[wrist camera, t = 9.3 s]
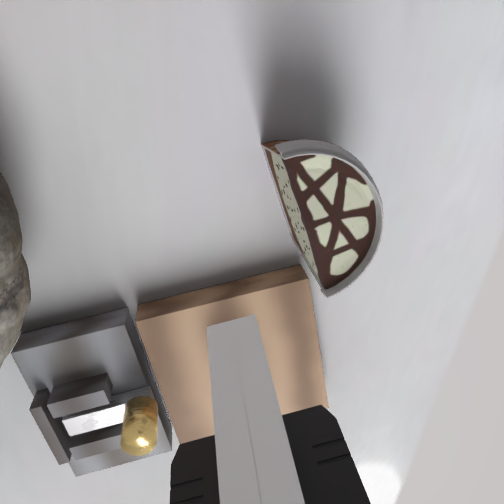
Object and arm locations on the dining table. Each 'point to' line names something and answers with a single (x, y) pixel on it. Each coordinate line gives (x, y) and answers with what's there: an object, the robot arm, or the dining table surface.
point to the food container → (327, 208)
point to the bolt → (122, 420)
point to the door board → (167, 363)
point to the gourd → (11, 273)
